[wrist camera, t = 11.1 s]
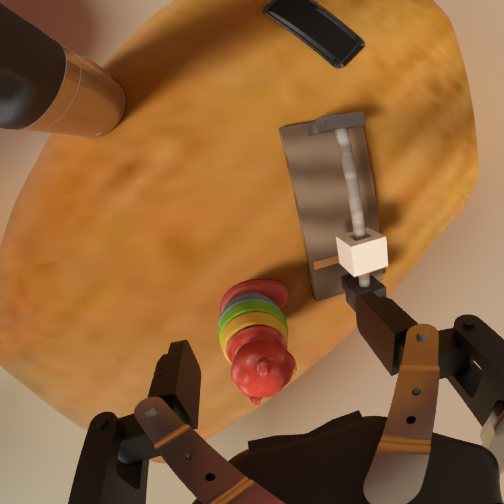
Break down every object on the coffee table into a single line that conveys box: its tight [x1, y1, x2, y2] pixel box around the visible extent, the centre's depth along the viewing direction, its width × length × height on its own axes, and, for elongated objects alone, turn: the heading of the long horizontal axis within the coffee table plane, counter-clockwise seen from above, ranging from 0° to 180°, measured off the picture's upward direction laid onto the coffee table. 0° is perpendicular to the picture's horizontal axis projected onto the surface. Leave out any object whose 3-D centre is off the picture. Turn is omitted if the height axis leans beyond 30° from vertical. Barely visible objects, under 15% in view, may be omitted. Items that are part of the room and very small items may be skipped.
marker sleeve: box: [336, 228, 388, 277], centre depth 35 cm, size 4×5×5 cm
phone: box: [264, 0, 364, 68], centre depth 31 cm, size 8×1×15 cm
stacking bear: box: [218, 280, 297, 405], centre depth 35 cm, size 11×10×18 cm
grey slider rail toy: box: [279, 112, 386, 312], centre depth 36 cm, size 26×12×9 cm, turn 14°
